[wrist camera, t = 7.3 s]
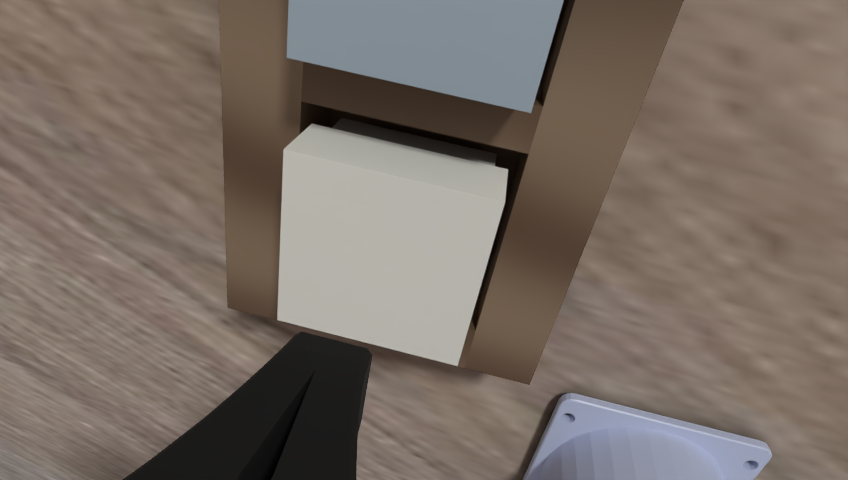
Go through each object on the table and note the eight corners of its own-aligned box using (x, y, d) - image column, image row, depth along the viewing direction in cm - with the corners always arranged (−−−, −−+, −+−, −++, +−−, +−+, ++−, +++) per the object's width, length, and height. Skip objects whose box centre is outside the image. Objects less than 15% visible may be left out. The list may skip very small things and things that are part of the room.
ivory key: (470, 291, 17) (457, 366, 14) (319, 253, 17) (277, 320, 14) (510, 146, 14) (505, 201, 12) (331, 104, 15) (283, 149, 12)
